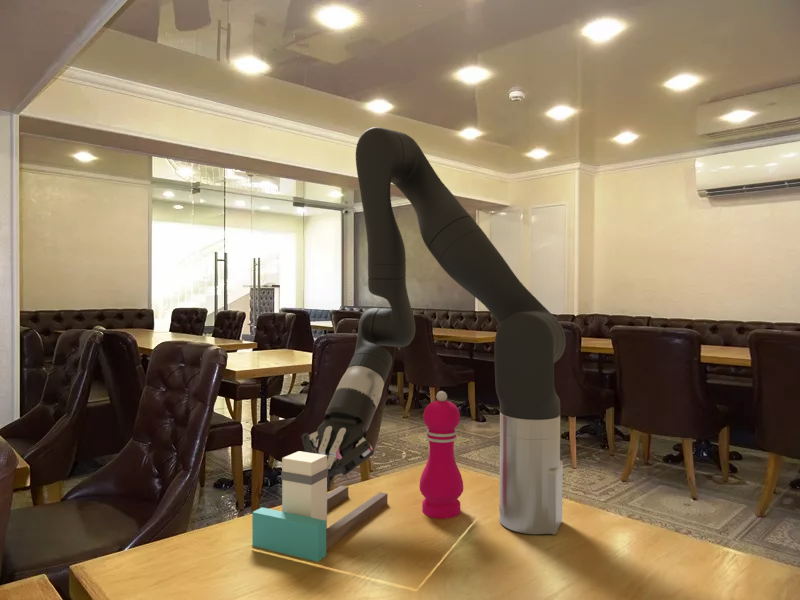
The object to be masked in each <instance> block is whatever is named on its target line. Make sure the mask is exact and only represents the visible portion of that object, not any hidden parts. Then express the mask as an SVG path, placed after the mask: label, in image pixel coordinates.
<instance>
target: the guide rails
mask: <svg viewBox="0 0 800 600" xmlns="http://www.w3.org/2000/svg"><path fill="white" fill-rule="evenodd" d="M348 497H349V486H346V485H340V486H337V487H336V488H334V489H332V490H331V491H328V492H327V511H328V510H330V509H331V508H333V507H335V506H336V505H338V504H339V503H341V502H343V501H344V500H346V499H347V498H348ZM387 505H388V493H387V492H381V491H380V492H378V493H377V494H375V495H373V496H372V497H370V498H369V499H368V500H366V501H365V502H363V503H362V504H360V505H359V506H357V507H356V508H355V509H353V510H352V511H350V512H349V513H347V514H346V515H344V516H343V517H342V518H340V519H338V520H337V521H336V522H334V523H333V524H332V525H330V526H327V529H326V551H327V550H328V549H330V548H331V547H332V546H334V545H335V544H336V543H337V542H339V541H340V540H342V539H343V538H344V537H346V536H347V535H348V534H349V533H351V532H352V531H354V529H356V528H357V527H358V526H360V525H361V524H362V523H364V522H365V521H367V520H368V519H369V518H371V517H372V516H373V515H375V514H376V513H377V512H379V511H380V510H381V509H382V508H384V507H385V506H387Z"/></svg>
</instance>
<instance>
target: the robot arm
mask: <svg viewBox="0 0 800 600" xmlns="http://www.w3.org/2000/svg"><path fill="white" fill-rule="evenodd" d="M356 143H357V144H356V148H355V166H356V173H357V181H358V186H359V191H360V193H359V194H360V199H361V204H362V210H363V217H364V223H365V230H366V231H365V232H366V240H367V241H366V243H367V277H368V278H367V285H368V291H369V293H371V295H374V296H377V297H380V298H383V299H385V300H387V302H388V304H389V307H390V308H381V307H372V308H368V309H367V310H366V311H364V312H363V313H362V314H361V316H360V318H359V322H358V330H357V338H356V345H355V350H354V354H353V355H352V358H351V361H350V362H349V364H348V365H347V369H346V371H345V373H344V374H343V375H342V377H341V378H340V381H339V382H338V385H337V386H336V389H335V391H334V392H333V396H332V397H331V400H330V402H329V405H328V407H327V408H326V410H325V414H324V419H323V421H322V423H321V424H320V425H319V426H318V427H317V430H316V431H314V432H312V433H310V434H309V433H308V432H304V433H303V434H302V435H301V441H302V445H303V449H304V452H308V453H315V454H322V455H327V468H328V477H327V493H329V490H330V487H331V484H332V483H333V479H334V478H335V477H336V476H338V475H340V474H342V475H343V476H347V475H348V474H349V473H350V472H352V471H353V470H355V468H357V467H358V466H359V465H361V464H362V463H364V461H366V460H367V459H369V458H370V457H372V455H373V454H374V452H375V451H374V449H373V447H372V444H370V442H369V441H368V440H366V439H367V431H368V430H369V428H370V425H371V423H372V421H373V418H374V415H375V413H376V410H377V408H378V406H379V403H380V401H381V398H382V393H383V389H384V386H385V384H386V381H387V379H388V376H389V375H390V374H389V373H390V372H391V368H392V365H393V357H392V354H391V353H390V351H388V350H387V349H386V348H385V347H395V348H404V347H407V346H409V345H410V344H411V342H412V341H413V339H414V337H415V335H416V322H415V317H414V313H413V310H412V306H411V302H410V299H409V295H408V288H407V284H406V283H407V281H406V280H407V279H406V275H407V274H406V273H407V272H406V271H407V270H406V269H407V268H406V267H407V264H406V263H407V262H406V261H407V260H406V248H405V247H406V246H405V243H404V239H403V236H402V233H401V231H400V228H399V225H398V223H397V219H396V217H395V214H394V209H393V205H392V200H391V199H392V197H391V184H393V185H394V186H395V187H397V189H398V190H400V192H401V193H402V194H403V195H404V197H406V199H407V200H408V202H409V203H410V204H411V206H412V207H413V209H414V211H415V213H416V214H415V215H416V216H417V221H418V227H419V231H420V235H421V238H422V241H423V243H424V244H425V246H426V248H427V249H428V251H429V252H430V254H431V255H432V256H433V258H434V259H435V261H437V263H438V265H440V267H441V268H442V269H443V270H444V272H445V273H446V274H447V275H449V277H450V278H451V279H452V280H454V282H456V283H457V284H458V285H459V286H460V287H462V288H463V289H464V290H465V291H467V292H468V293H469V294H470V295H471V296H473V297H474V298H475V299H477V300H478V301H479V302H480V303H481V304H483V306H484V307H485V308H486V309H487V310H488V311H489V313H490V314H491V315H492V317H493V318H494V319H495V320H496V322H497V324H498V328H497V330H496V334H495V339H494V376H495V377H494V379H495V392H496V395H497V399H498V401H499V505H498V509H499V510H498V512H499V522H500V524H501V525H502V526H503V527H505V528H507V529H508V530H510V531H513V532H517V533H522V534H527V535H547V534H548V535H557V532H558V531H559V529H560V526H561V524H562V521H563V476H564V475H563V473H564V472H563V468H564V467H563V466H564V465H563V461H562V460H561V399H560V397H559V396H558V394H557V392H556V389H555V388H556V387H555V367H554V366H555V363H556V362H557V361H559V360H560V359H561V357H562V356H563V354H564V352H565V349H566V345H567V344H566V340H567V339H566V335H565V331H564V328H563V326H562V324H561V323H560V321H559V320H558V319H557V317H555V316H554V315H553V314H552V313H551V311H549V310H548V309H547V308H546V307H545V306H544V305H543V304H542V302H540V301H539V300H538V299H537V298H536V297H535V296H534V294H532V292H530V291H529V289H527V288H526V286H525V285H524V284H523V283H522V282H521V281H520V280H519V278H518V276H517V275H516V274H515V272H514V271H513V270H512V269H511V267H510V265H509V264H508V263H507V261H506V260H505V258H504V257H503V256H502V254H501V253H500V251H498V249H497V248H496V246H495V245H494V244H493V243H492V241H491V240H490V238H489V237H488V236H487V235H486V233H485V232H484V231H483V229H482V228H481V227H480V226H479V224H478V223H477V222H476V221H475V219H474V218H473V217H472V216H471V214H470V213H469V212H468V210H466V209H465V208H464V206H463V205H462V204H461V203H460V202H459V200H458V199H457V198H456V197H455V195H454V194H453V193H452V192H451V190H450V189H449V188H448V187H447V186H446V185H445V184H444V183H443V181H442V180H441V179H440V177H439V176H438V174H437V172H436V171H435V169H434V167H432V164H431V163H430V161H429V160H428V158H427V157H426V155H425V153H424V152H423V151H422V149H421V147H420V146H419V144H418V143H417V141H416V140H415V139H414V138H412V137H411V136H410V135H409V134H407V133H405V132H401V131H397V130H392V129H388V128H384V127H379V126H373V127H370V128H368V129H367V130H365V131H364V132H363V133H362V134H361V135H360V137H359V138H358V140H357V142H356ZM383 346H384V347H383ZM319 444H320V445H319ZM318 446H319V447H318ZM317 448H318V451H317Z"/></svg>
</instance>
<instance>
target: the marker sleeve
mask: <svg viewBox="0 0 800 600" xmlns="http://www.w3.org/2000/svg"><path fill="white" fill-rule="evenodd" d="M281 462H282V463H281V464H282V465H281V466H282V467H281V469H282V470H280V473H281V474H280V475H281V477H280V481H282V482H281V484H282V485H281V487H282V488H281V490H282V492H281V495H282V497H281V499H282V501H281V503H282V504H281V507H282V508H281V509H282V512H287V513H291V514H296V515H301V516H306V517H311V518H316V519H321V520H325V521H326V529H327V528H328V510H327V493H328V492H327V477H328V468H327V455H322V454H319V453H317V454H315V453H308V452H305V451H299V450H298V451H296V452H293V453H291V454H288V455H286V456H283V457H282V458H281Z"/></svg>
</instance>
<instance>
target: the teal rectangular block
mask: <svg viewBox="0 0 800 600" xmlns="http://www.w3.org/2000/svg"><path fill="white" fill-rule="evenodd" d="M251 526H252V529H251V530H252V541H251V543H252V544H251V545H252V547H257V548H261V549H264V550H265V549H266V550H269V551H272V552H276V553H280V554H285V555H289V556H293V557H297V558H301V559H305V560H309V561H314V562H319V561H321V560H322V559H324V557H326V556H327V550H326V521H325V520H321V519H316V518H311V517H306V516H301V515H296V514H291V513H287V512H282V511H281V510H276V509H273V508H272V509H271V508H267V507H262V506H261V507H260V508H258V509H256V510H254V511H252V525H251Z"/></svg>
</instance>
